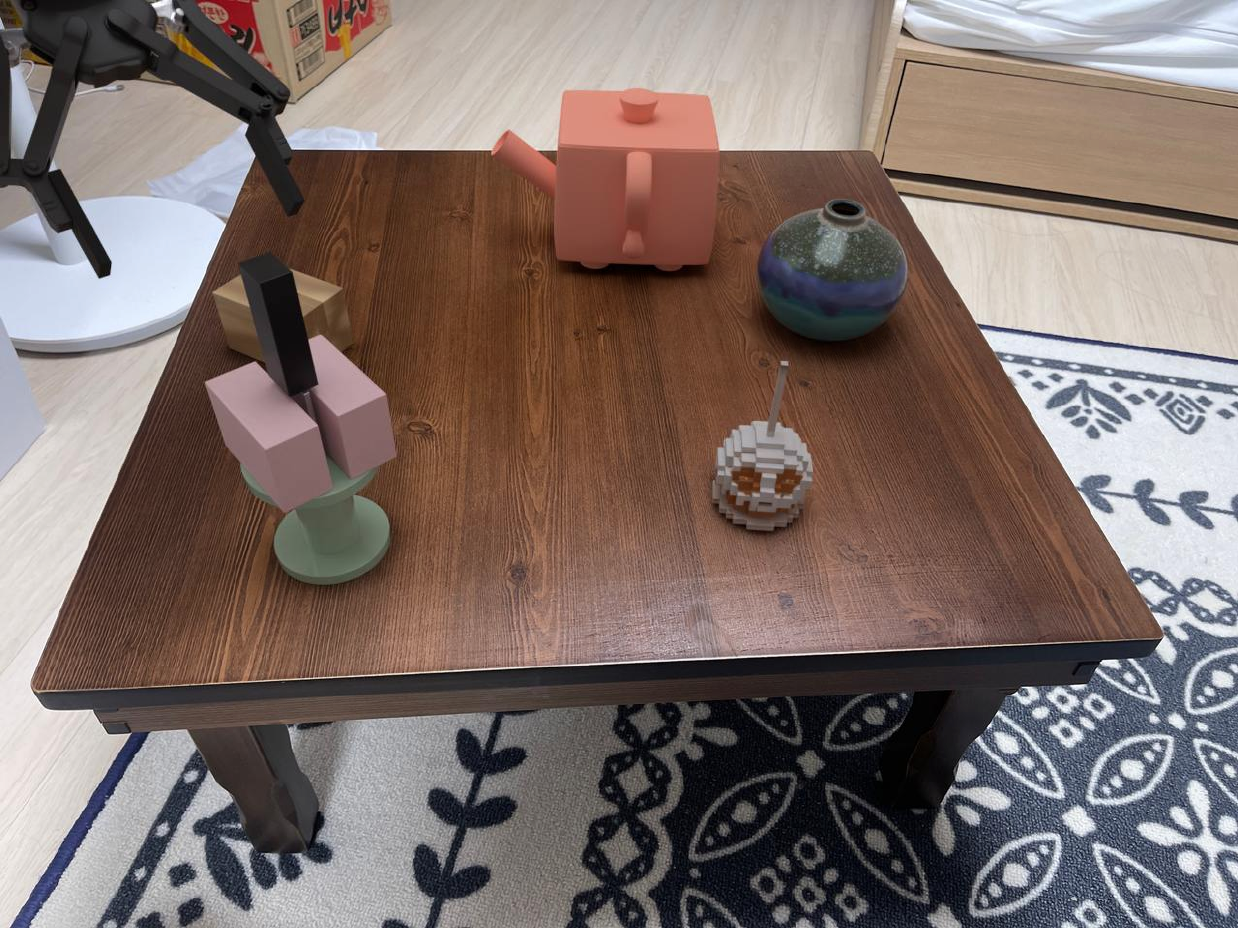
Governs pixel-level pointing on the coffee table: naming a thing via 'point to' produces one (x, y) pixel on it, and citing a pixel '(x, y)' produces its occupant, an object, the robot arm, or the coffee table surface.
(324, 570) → the cake stand
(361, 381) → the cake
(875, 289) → the vase
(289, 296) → the knife
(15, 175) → the robot arm
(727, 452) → the decorative ornament
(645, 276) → the coffee table surface
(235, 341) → the knife block
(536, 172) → the teapot
